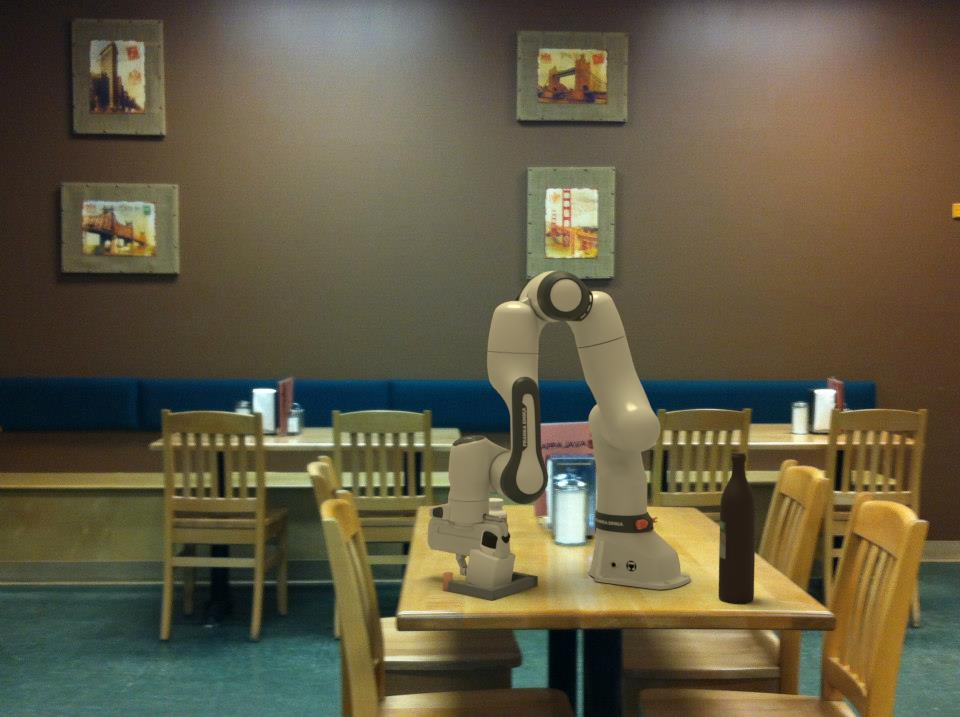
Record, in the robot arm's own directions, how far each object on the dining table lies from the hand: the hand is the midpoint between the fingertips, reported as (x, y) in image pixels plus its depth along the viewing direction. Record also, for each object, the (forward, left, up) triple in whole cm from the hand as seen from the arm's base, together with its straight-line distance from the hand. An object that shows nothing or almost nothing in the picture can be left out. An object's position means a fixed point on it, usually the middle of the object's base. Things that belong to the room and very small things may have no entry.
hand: (467, 575), depth 232 cm
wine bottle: (-50, -25, -2) cm, 56 cm away
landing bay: (-7, 0, -2) cm, 7 cm away
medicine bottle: (-5, 0, -1) cm, 5 cm away
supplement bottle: (+15, -28, -2) cm, 32 cm away
